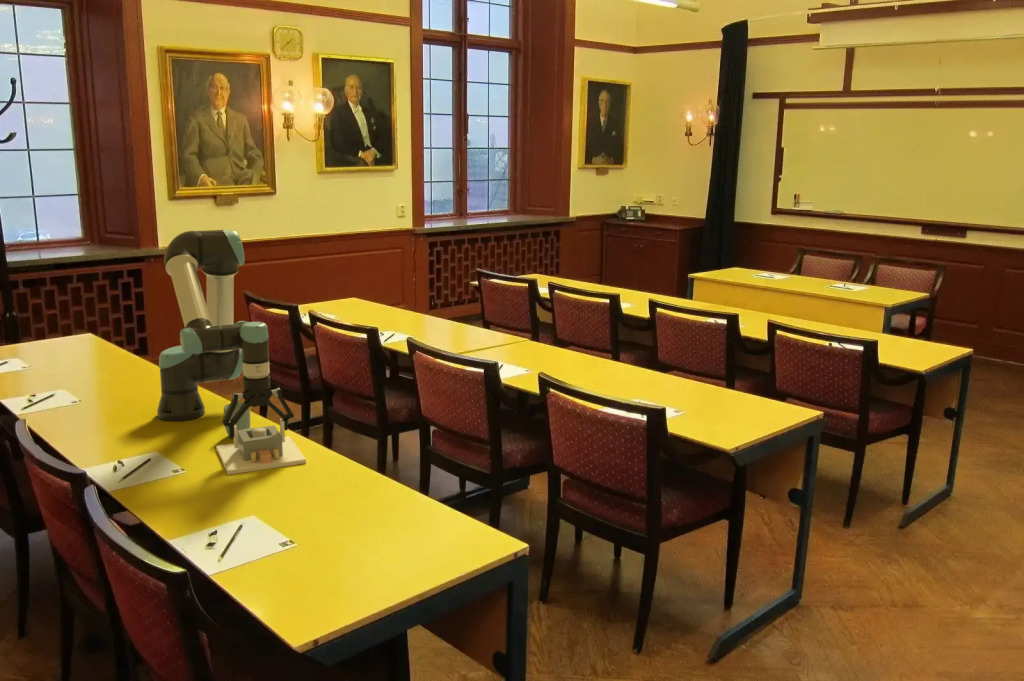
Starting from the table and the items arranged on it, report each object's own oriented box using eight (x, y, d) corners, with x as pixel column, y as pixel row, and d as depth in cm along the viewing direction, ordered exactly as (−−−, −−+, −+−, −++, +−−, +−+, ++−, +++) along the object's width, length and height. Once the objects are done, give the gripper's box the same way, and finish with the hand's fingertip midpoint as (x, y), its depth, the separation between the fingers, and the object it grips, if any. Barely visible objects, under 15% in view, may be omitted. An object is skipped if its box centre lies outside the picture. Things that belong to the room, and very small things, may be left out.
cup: (243, 441, 262) (241, 410, 260) (220, 438, 264) (218, 408, 261) (255, 433, 270) (254, 403, 267) (233, 431, 271) (231, 401, 269)
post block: (216, 449, 254) (215, 423, 253) (289, 439, 264) (288, 415, 262) (227, 474, 235) (226, 447, 233) (306, 463, 245) (305, 436, 243)
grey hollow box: (238, 449, 252) (236, 430, 250) (275, 443, 257) (274, 425, 255) (246, 465, 239) (245, 445, 237) (285, 460, 244) (284, 440, 242)
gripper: (213, 383, 235) (217, 453, 240) (302, 374, 246) (304, 442, 251) (209, 376, 242) (213, 445, 247) (296, 367, 253) (298, 434, 258)
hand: (259, 443), depth 249 cm, fingers open, 13 cm apart
